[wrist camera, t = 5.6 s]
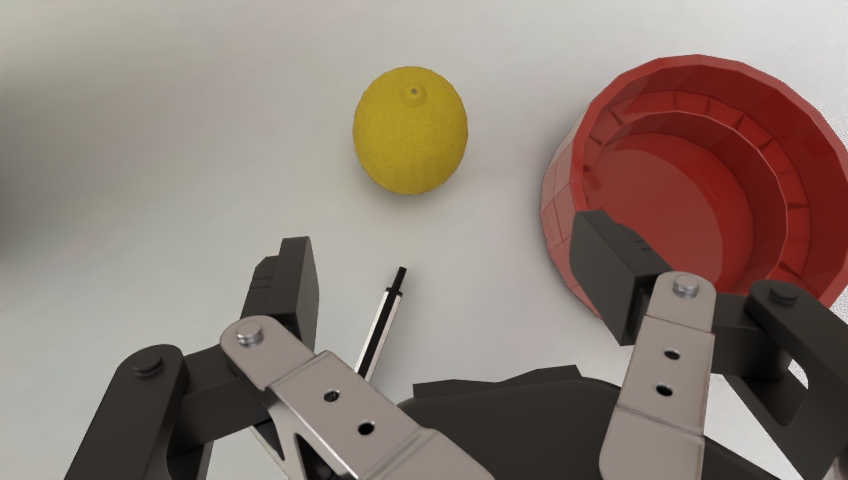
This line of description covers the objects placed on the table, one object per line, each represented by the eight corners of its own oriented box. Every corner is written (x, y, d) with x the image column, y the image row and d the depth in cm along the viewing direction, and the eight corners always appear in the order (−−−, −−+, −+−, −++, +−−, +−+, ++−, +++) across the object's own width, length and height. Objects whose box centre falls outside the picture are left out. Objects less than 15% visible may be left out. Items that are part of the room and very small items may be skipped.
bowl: (486, 216, 28) (508, 180, 22) (639, 68, 30) (691, 5, 25) (678, 401, 26) (752, 410, 20) (821, 224, 29) (919, 192, 23)
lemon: (353, 208, 27) (336, 144, 19) (365, 117, 29) (354, 24, 21) (452, 218, 27) (476, 160, 20) (460, 128, 29) (484, 39, 21)
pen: (410, 272, 26) (411, 268, 25) (257, 675, 22) (250, 691, 21) (395, 266, 26) (395, 262, 25) (238, 667, 22) (230, 683, 21)
